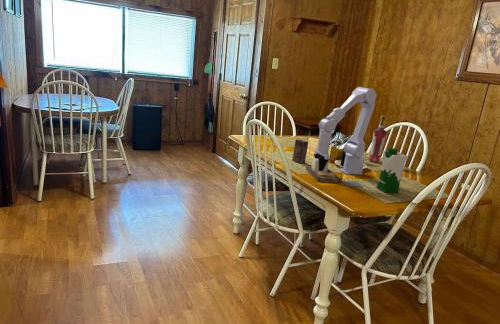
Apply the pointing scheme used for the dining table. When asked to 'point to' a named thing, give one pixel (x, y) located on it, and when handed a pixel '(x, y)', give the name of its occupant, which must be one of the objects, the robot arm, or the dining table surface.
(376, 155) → the liquor
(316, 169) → the cream rectangular prism
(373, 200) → the dining table surface
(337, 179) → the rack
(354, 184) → the mat
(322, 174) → the tan rectangular block
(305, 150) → the box
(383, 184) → the milk carton
